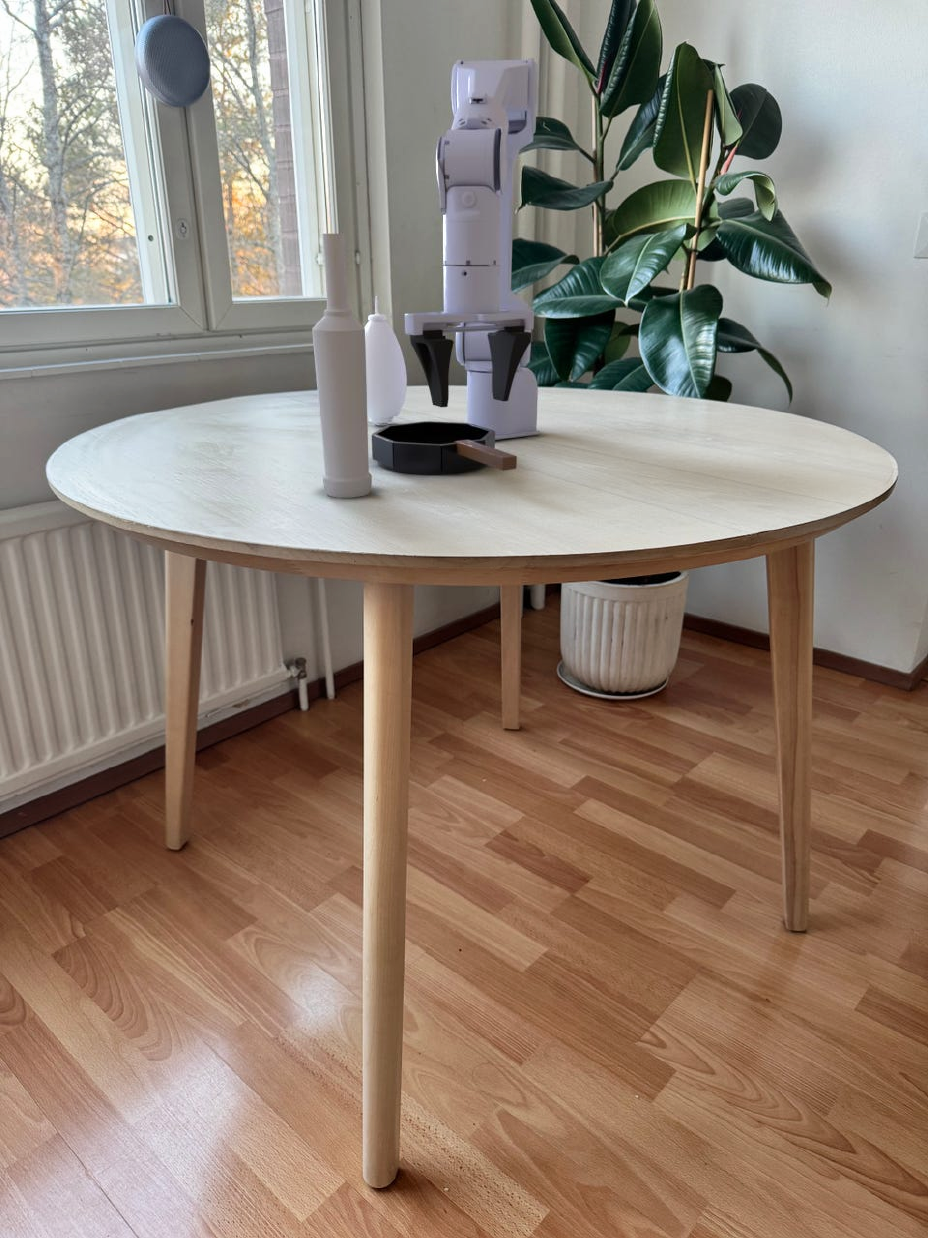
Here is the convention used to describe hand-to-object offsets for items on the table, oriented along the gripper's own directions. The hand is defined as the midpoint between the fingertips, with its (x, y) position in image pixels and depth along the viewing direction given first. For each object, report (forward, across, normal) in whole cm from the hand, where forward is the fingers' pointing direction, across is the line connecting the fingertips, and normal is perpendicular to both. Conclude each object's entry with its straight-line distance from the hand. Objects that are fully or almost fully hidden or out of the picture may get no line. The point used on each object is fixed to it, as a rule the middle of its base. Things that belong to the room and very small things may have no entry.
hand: (471, 402), depth 89 cm
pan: (+9, +1, +6) cm, 11 cm away
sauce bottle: (+9, +6, +36) cm, 37 cm away
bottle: (+9, -14, +3) cm, 17 cm away
